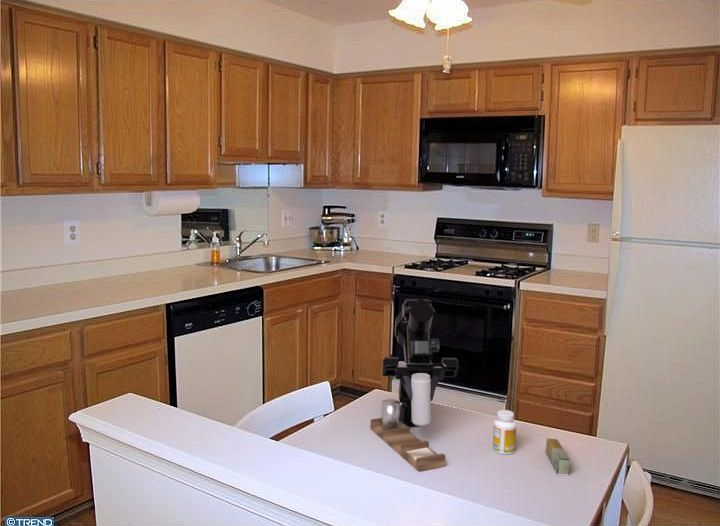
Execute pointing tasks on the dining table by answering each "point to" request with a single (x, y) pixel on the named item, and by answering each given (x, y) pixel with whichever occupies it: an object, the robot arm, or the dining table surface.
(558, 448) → the medication box
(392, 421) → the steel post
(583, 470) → the dining table surface
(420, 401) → the beverage can
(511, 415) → the supplement bottle
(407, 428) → the walnut rail
